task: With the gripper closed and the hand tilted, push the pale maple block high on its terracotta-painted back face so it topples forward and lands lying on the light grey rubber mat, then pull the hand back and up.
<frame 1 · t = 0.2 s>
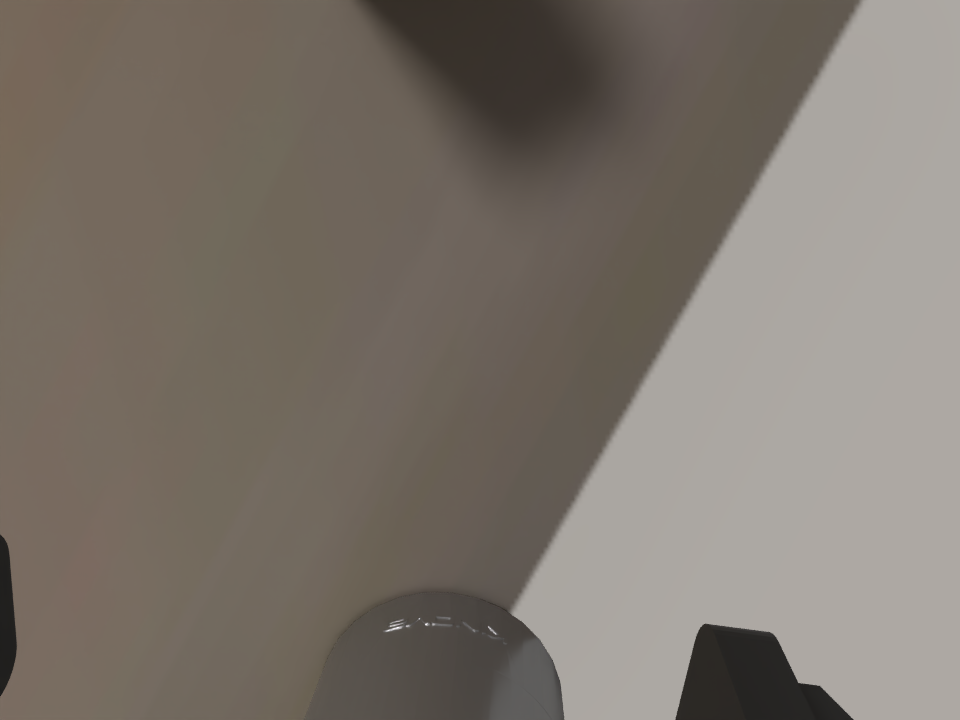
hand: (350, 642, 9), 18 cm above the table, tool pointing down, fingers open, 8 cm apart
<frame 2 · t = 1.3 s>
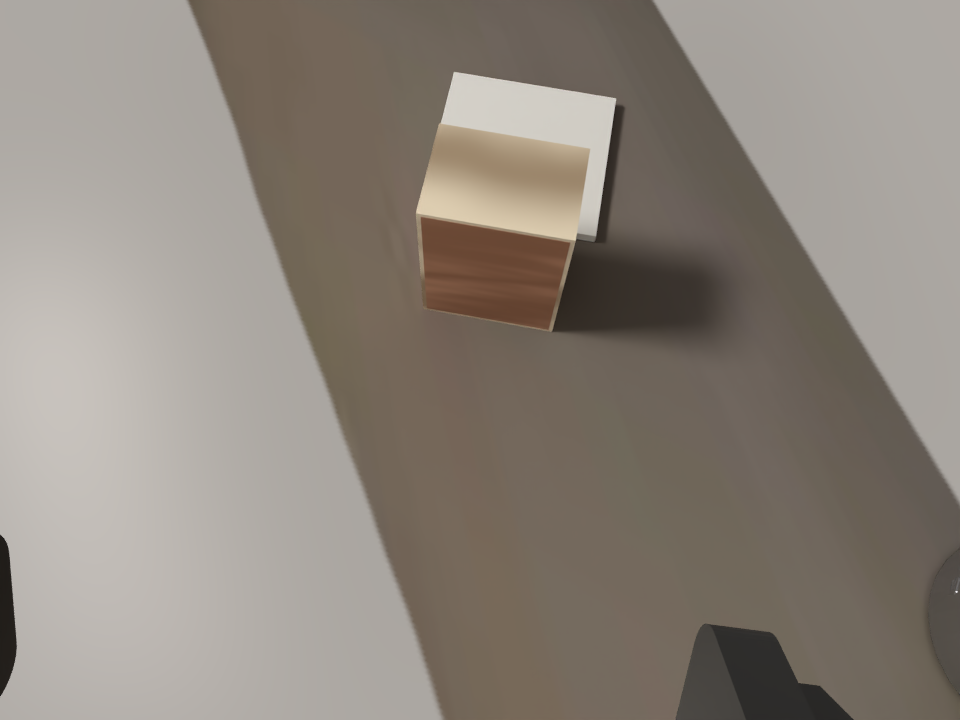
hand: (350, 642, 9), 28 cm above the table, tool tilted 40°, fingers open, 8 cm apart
mat: (520, 156, 47), on the table
maple block: (495, 280, 43), on the table
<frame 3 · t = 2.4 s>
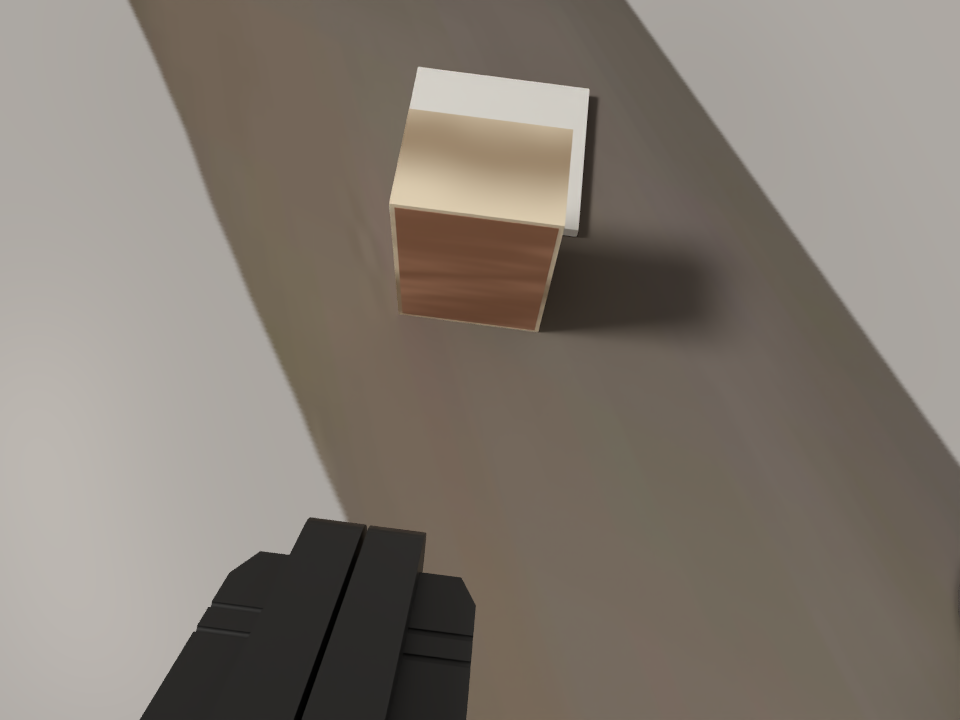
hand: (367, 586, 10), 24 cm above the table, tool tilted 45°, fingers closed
mat: (493, 151, 44), on the table
maple block: (474, 280, 40), on the table
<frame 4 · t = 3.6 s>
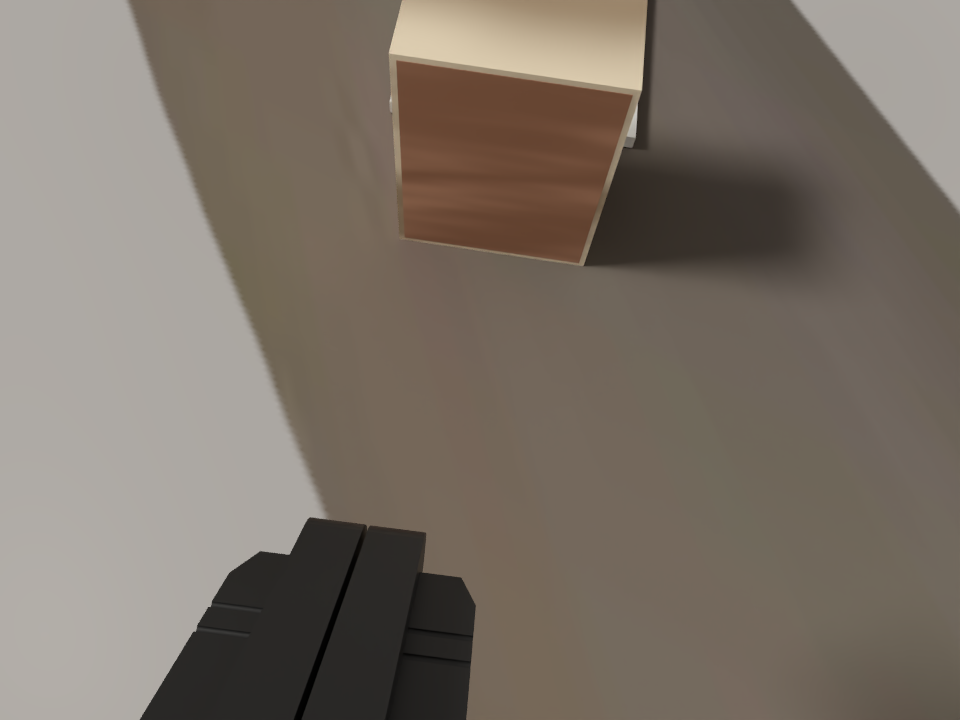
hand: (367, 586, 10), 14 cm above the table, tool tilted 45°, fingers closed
maple block: (499, 199, 31), on the table
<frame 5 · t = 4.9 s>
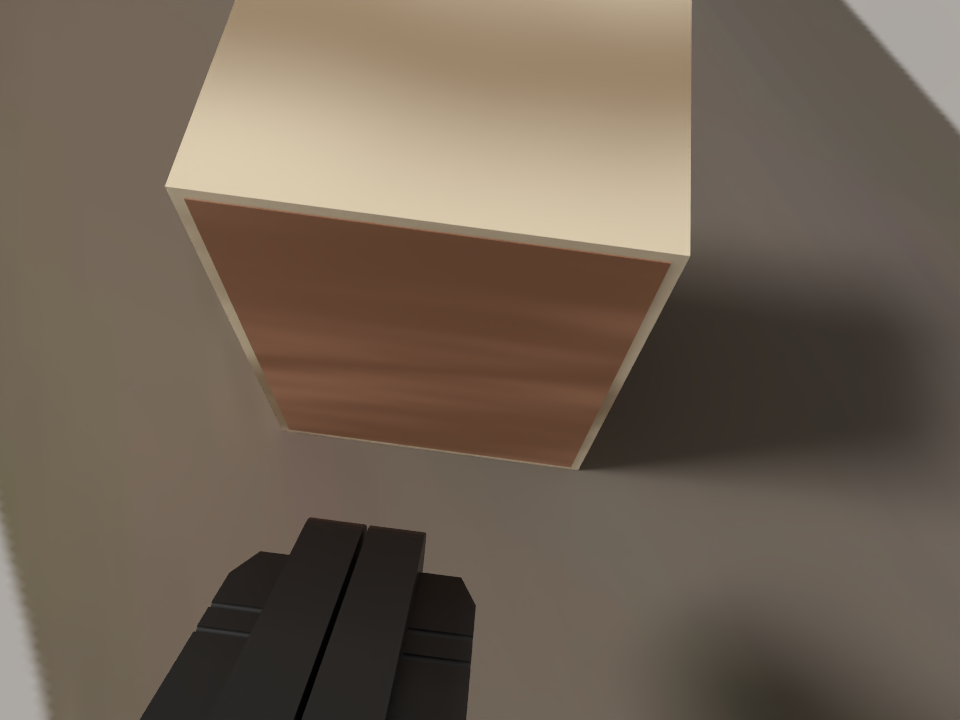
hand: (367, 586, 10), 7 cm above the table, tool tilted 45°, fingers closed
maple block: (445, 356, 20), on the table
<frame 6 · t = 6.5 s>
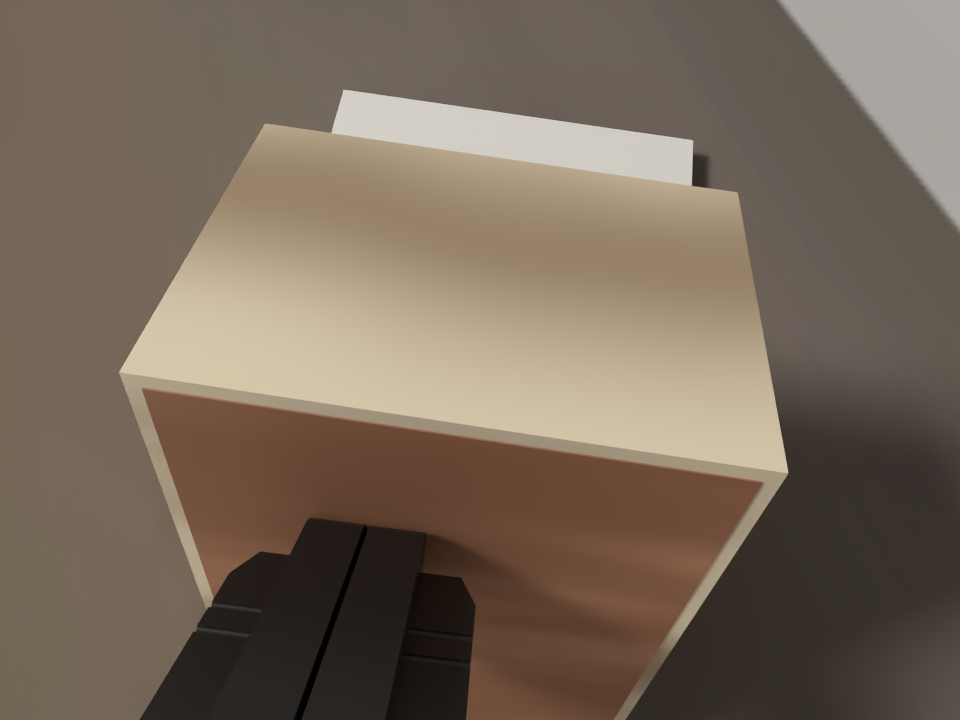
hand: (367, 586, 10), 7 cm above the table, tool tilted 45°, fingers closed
mat: (493, 275, 21), on the table
maple block: (440, 595, 16), point 1 cm above the table, tilted 17°
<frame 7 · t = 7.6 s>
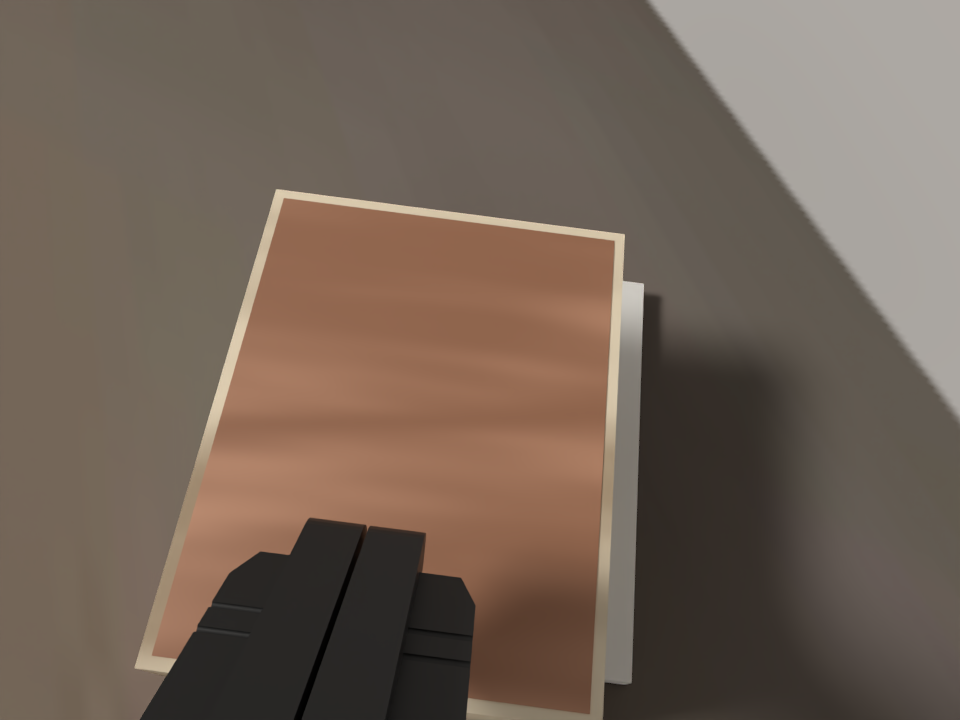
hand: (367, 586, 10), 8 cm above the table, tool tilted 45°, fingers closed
mat: (431, 441, 19), on the table
maple block: (378, 707, 14), point 3 cm above the table, tilted 90°, touching mat
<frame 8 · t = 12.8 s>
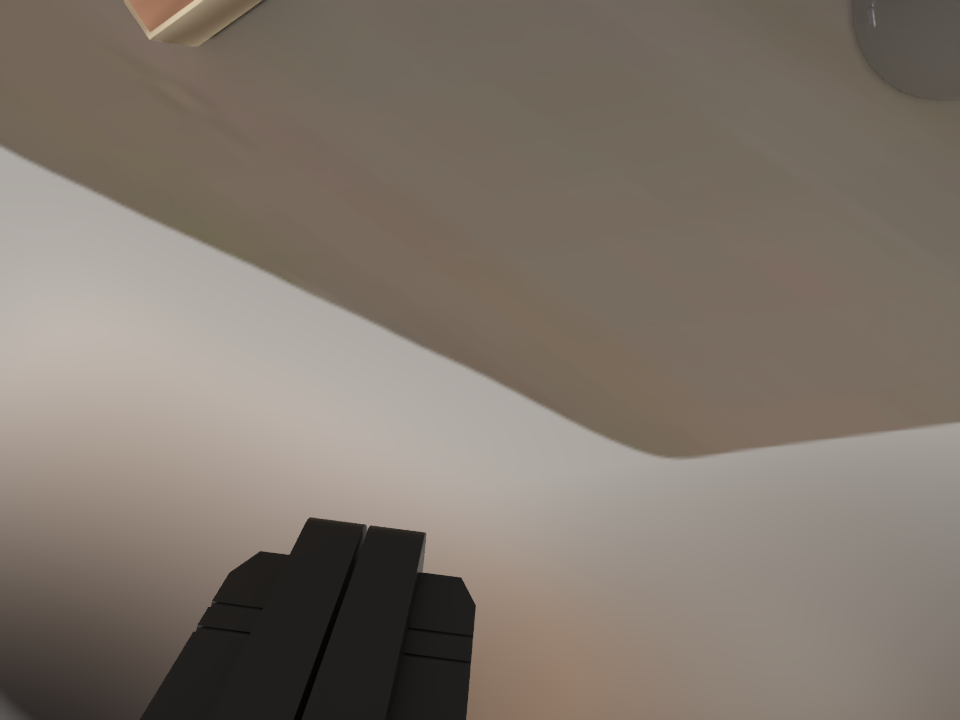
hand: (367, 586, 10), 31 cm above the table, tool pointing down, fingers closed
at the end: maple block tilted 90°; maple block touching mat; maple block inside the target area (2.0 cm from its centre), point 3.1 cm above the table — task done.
